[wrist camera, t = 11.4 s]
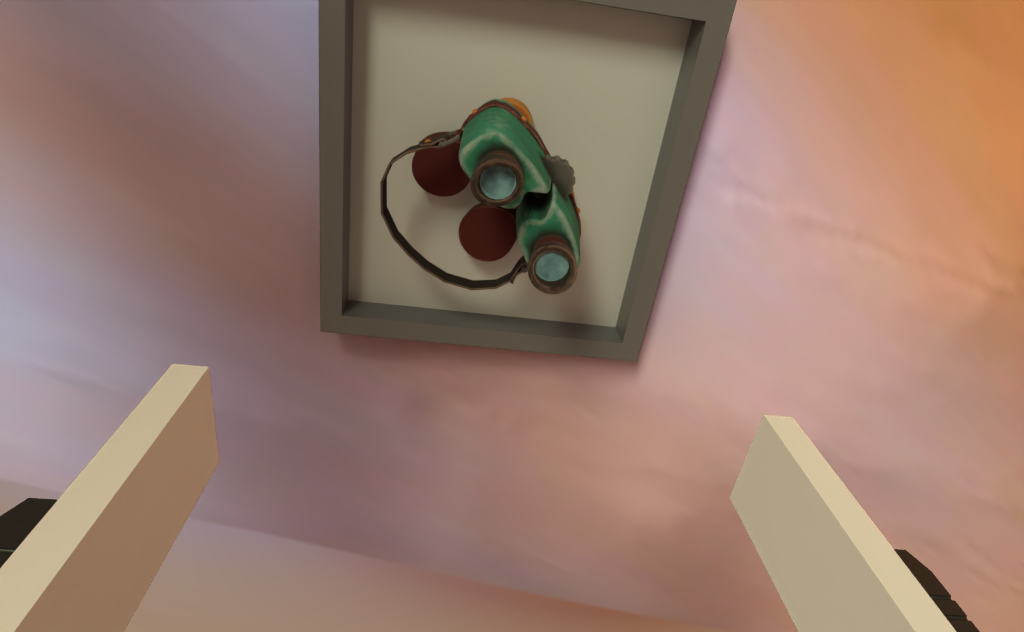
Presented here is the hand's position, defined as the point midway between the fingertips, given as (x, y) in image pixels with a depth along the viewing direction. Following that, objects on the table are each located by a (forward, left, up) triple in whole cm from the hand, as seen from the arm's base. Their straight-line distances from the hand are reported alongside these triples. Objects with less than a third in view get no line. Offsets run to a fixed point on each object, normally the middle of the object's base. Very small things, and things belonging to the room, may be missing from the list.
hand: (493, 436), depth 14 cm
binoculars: (0, 0, -22) cm, 22 cm away
